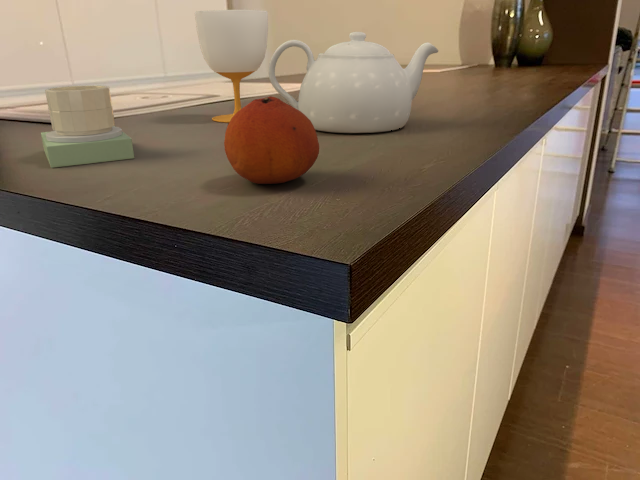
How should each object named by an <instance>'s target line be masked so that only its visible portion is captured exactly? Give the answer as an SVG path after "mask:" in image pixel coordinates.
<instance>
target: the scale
mask: <svg viewBox="0 0 640 480" xmlns="http://www.w3.org/2000/svg"><path fill="white" fill-rule="evenodd" d="M112 128H113V130H111V131H109V132H106V133H101V134H94V135H82V136H64V135H58V134H57V132H56V131H55V130H51V131H45V132H44V131H42V132H40V136H41V141H42V147H43V151H44V154H45V157H46V159H47V162H48V164H49V167H50V168H51V169H54V168H62V167H71V166H79V165H81V166H82V165H88V164H97V163H105V162H106V163H107V162H115V161H123V160H131V159H132V160H133V159H135V153H134V145H133V138H132V137H130V136H129V135H128V134H127V133H126V132H124V131H123V129H122V127H119V126H115V125H114V126H113V127H112Z"/></svg>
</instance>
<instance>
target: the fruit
mask: <svg viewBox="0 0 640 480" xmlns="http://www.w3.org/2000/svg"><path fill="white" fill-rule="evenodd" d="M318 139H319V137H318V134H317V130H315V128H314V126H313V124H312V122H311V121H310V120H309V119H308V118H307V116H305V115H304V114H303V113H302V112H301V111H299V110H298V109H296V108H294V107H292V105H291V104H289V103H287V102H284V101H283V100H281V99H280V98H278V97H275V96H272V95H270V96H267V97H262V98H256V99H253V100H251V101H250V102H249V103H247V104H246V105H245V106H243V107H241V110H239V111H238V112H237V113H236V114H235V115H234V116H233V117H232V118H231V120H230V122H229V123H227V126H226V129H225V132H224V140H223V142H224V143H223V145H224V152H225V156H226V158H227V160H228V162H229V163H230V166H231V167H232V169H233V170H234V172H236V174H238V176H240V177H242V178H244V179H245V180H247V181H249V182H250V183H253V184H256V185H257V184H258V185H271V184H274V185H275V184H285V183H287V182H290V181H293V180H296V179H298V178H300V177H301V176H303V175H304V174H305V173H307V172H308V171H309V170H310V169H311V168H312V167H313V166H314V164H315V163H316V161H317V159H318V158H319V157H318V156H319V154H320V142H319V140H318Z"/></svg>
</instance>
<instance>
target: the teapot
mask: <svg viewBox="0 0 640 480" xmlns="http://www.w3.org/2000/svg"><path fill="white" fill-rule="evenodd" d="M348 36H349V39H350V40H349V41H342V42H339V43H336V44H333V45H331V46H330V47H328V48H327V49H326V50H325V51H324V52H322V53H321V52H320V53H318V55H317V58H316V59H315V56H314V53H313V51H312V49H311V47H310V46H309V45H308V44H307V43H305V42H303V41H302V40H299V39H289V40H287V41H285V42H283V43H281V44H280V45H279V46H278V47H276V49H275V51H274V52H273V54H272V55H271V58H270V60H269V63H268V70H267V71H268V79H269V81H270V84H271V85H272V88H273V89H274V90H275V91H276V92H277V93H278V94H279V95H280V96H281V97H282V98H283V99H284V100H286V101H287V102H288V104H289V105H291V106H292V107H294V108H296V109H298V110H299V111H301V112H302V113H303V114H304V115H305V116H307V118H308V119H309V120H310V121H311V122H312V124H313V126H314V128H315V131H319V132H326V133H336V134H337V133H338V134H369V133H371V134H372V133H384V132H391V130H392V131H396V130H400V129H402V128H404V126H406V124H407V122H408V121H409V119H410V116H411V111H412V102H413V100H414V99H415V98H416V96H417V94H418V92H419V89H420V86H421V82H422V78H423V74H424V69H425V64H426V62H427V59H428V58H429V57H430V56H431V55H434V54H437V53H439V49H438V47H436V46H435V45H433V44H432V43H431V42H429V41H428V42H424V43H422V44H421V45H420V46H418V47H417V49H415V52H414V54H413V55H412V57H411V59H410V61H409V63H408V64H407V66H406V67H405V68H403V67H402V65H401V64H400V63H399V61H398V60H397V59H396V57H395V55H394V54H393V53H391V51H389V49H388V48H387V47H385V46H384V45H382V44H379V43H378V42H373V41H366V38H367V34H366V33H365V32H363V31H352V32H350V33H349V35H348ZM292 47H294V48H295V47H296V48H300V49H302V50H303V51H304V53H305V54H306V57H307V63H306V67H305V68H306V73H305V75H304V77H303V79H302V81H301V84H300V88H299V92H298V100H297V99H296V98H294V97H293V96H292V94H290V93H289V92H287V91H286V90H285V89H284V88H283V87H282V86H281V84H280V83H279V81H278V79H277V77H276V66H277V62H278V60H279V58H280V56H281V55H282V54H283V53H284V51H286V50H287V49H289V48H292ZM399 128H400V129H399Z"/></svg>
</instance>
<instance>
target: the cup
mask: <svg viewBox="0 0 640 480" xmlns="http://www.w3.org/2000/svg"><path fill="white" fill-rule="evenodd" d="M194 19H195V26H196V27H195V28H196V32H197V38H198V43H199V47H200V50H201V53H202V57H203V59H204V61H205V62H206V64H207V65H208V67H209V69H211V70H212V71H213V72H214V73H216V74H218V75H220V76H222V77H223V78H226V79H228V80H230V81H231V83H232V89H233V95H234V96H233V98H234V109H233V113H228V114H221V115H216V116H213V117H212V118H211V120H212V121H213V122H216V123H226V124H229V122H230V120H231V118H232V117H233V116H234V115H235V114H236V113H237V112H238V111H239V110H241V109H242V102H241V81H242V80H243V79H245V78H246V77H248V76H250V75H252V74H254V73H255V72H256V71H258V70H259V69H260V67H261V65H262V64H263V62H264V60H265V59H266V52H267V48H268V34H269V11H268V10H264V9H263V10H262V9H209V10H198V11H197V10H196V11H194Z"/></svg>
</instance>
